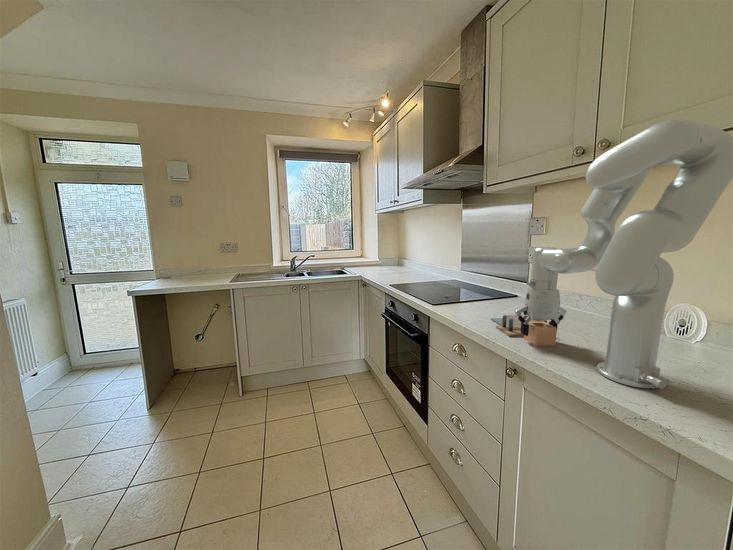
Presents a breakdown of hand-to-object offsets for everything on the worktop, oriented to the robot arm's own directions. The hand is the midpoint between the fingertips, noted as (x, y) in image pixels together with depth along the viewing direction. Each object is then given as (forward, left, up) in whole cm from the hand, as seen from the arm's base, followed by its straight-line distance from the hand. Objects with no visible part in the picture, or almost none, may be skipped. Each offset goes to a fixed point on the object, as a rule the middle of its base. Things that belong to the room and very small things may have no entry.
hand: (538, 334), depth 99 cm
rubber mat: (+20, -1, -3) cm, 20 cm away
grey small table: (+10, -1, -3) cm, 10 cm away
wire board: (+10, -1, -3) cm, 10 cm away
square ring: (0, 0, -3) cm, 3 cm away
